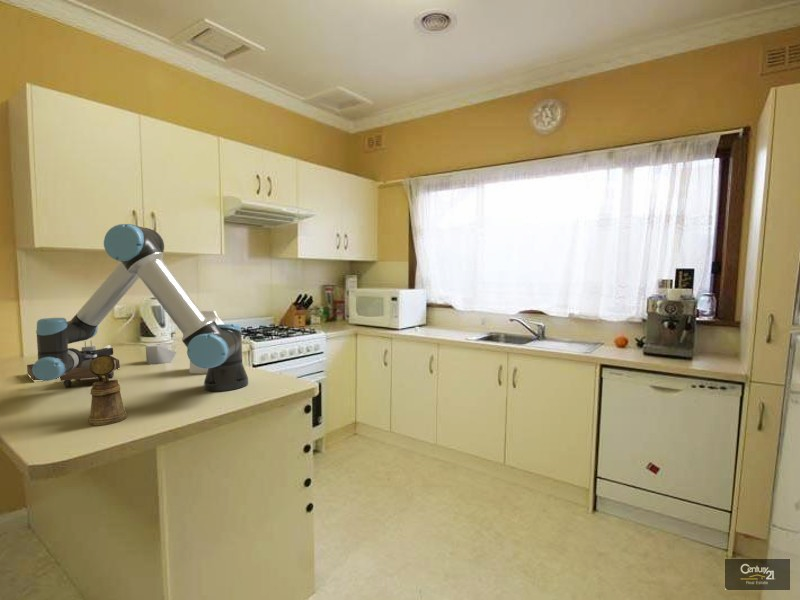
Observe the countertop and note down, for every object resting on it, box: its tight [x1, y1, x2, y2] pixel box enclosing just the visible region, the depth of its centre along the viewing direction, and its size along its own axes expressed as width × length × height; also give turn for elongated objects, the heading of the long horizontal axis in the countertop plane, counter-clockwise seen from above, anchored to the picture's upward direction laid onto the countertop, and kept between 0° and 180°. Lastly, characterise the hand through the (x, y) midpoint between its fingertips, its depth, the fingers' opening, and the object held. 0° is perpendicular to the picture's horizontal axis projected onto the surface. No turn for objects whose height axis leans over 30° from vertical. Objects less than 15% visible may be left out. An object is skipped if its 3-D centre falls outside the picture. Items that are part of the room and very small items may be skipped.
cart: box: [59, 360, 117, 388], centre depth 163 cm, size 14×14×7 cm
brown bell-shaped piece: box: [88, 354, 128, 426], centre depth 121 cm, size 9×14×18 cm, turn 40°
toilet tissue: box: [145, 342, 177, 365], centre depth 199 cm, size 9×13×9 cm
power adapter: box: [81, 340, 97, 368], centre depth 163 cm, size 3×5×12 cm, turn 126°
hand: (89, 349), depth 164 cm, fingers open, 13 cm apart
